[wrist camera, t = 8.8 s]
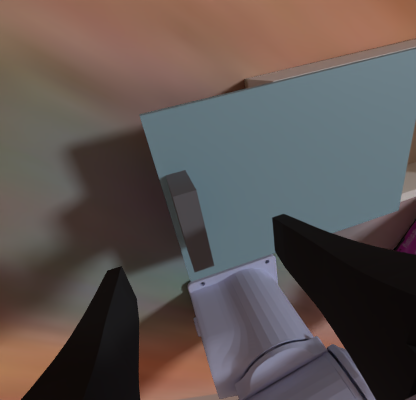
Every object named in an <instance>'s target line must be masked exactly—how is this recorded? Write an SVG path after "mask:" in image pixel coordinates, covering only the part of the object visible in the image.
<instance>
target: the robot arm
mask: <svg viewBox="0 0 416 400" xmlns="http://www.w3.org/2000/svg"><path fill="white" fill-rule="evenodd" d="M272 223H273V235H274V246H275V252H276V253H277V255H278V257H279V258H280V260H281V262H282V263H283V265H284V266H285V268H286V269H287V270H288V272H289V273H290V274H291V275H292V277H293V278H294V279H295V280H296V281H297V283H298V284H299V285H300V286H301V287H302V289H303V290H304V291H305V292H306V294H307V295H308V296H309V297H310V298H311V300H312V301H313V302H314V303H315V304H316V306H317V307H318V308H319V310H320V311H321V312H322V314H323V315H324V317H325V318H326V320H327V321H328V323H329V324H330V326H331V327H332V329H333V330H334V332H335V333H336V335H337V336H338V338H339V340H340V341H341V343H342V344H343V346H344V347H345V349H346V350H345V349H343V348H340V347H337V346H336V345H334V344H332V345H330V346H329V347H327V349H326V348H325V346H324V345H323V343H322V342H321V340H320V339H319V338H318V336H316V337H314V336H313V335H312V334H311V332H310V331H309V329H308V328H307V326H306V325H305V323H304V322H303V321H302V319H301V318H300V316H299V315H298V313H297V312H296V310H295V309H294V308H293V306H292V305H291V303H290V302H289V300H288V299H287V297H286V296H285V295H284V293H283V292H282V290H281V289H280V287H279V286H278V280H277V268H276V258H275V256H274V255H272V254H270V255H267V256H264V257H262V258H259V259H256V260H253V261H250V262H247V263H244V264H241V265H238V266H235V267H232V268H230V269H227V270H224V271H221V272H218V273H215V274H212V275H209V276H206V277H203V278H200V279H198V280H195V281H192V282H189V283H188V290H189V293H190V297H191V301H192V304H193V308H194V312H195V316H196V317H194V318H193V319H194V323H195V327H196V330H197V333H198V336H199V337H200V336H201V338H202V342H203V345H204V349H205V353H206V356H207V360H208V363H209V367H210V370H211V373H212V377H213V380H214V383H215V387H216V390H217V393H218V396H219V398H220V399H223V398H227V397H232V396H238V397H239V399H238V400H416V255H415V254H409V253H403V252H398V251H393V250H388V249H384V248H379V247H375V246H371V245H367V244H364V243H360V242H357V241H353V240H350V239H347V238H344V237H341V236H338V235H335V234H332V233H330V232H327V231H325V230H322V229H319V228H317V227H315V226H312V225H310V224H307V223H305V222H303V221H300V220H298V219H296V218H293V217H291V216H288V215H286V214H281V215H278V216H275V217H272ZM266 260H267V261H266ZM202 282H204V283H202ZM138 371H139V315H138V306H137V298H136V296H135V294H134V292H133V290H132V287H131V285H130V283H129V281H128V279H127V277H126V275H125V272H124V270H123V268H122V266H120V267H117V268H114V269H111V270H108V271H107V273H106V274H105V276H104V278H103V280H102V282H101V284H100V286H99V288H98V290H97V292H96V294H95V296H94V297H93V299H92V301H91V303H90V305H89V306H88V308H87V310H86V312H85V314H84V315H83V317H82V319H81V320H80V322H79V323H78V325H77V327H76V328H75V330H74V332H73V333H72V335H71V336H70V338H69V339H68V341H67V342H66V344H65V345H64V347H63V348H62V349H61V351H60V352H59V353H58V355H57V356H56V358H55V359H54V360H53V361H52V363H51V364H50V365H49V367H48V368H47V369H46V370H45V371H44V373H43V374H42V375H41V376H40V378H39V379H38V380H37V381H36V382H35V384H34V385H33V386H32V387H31V389H30V390H29V391H28V392H27V393H26V394H25V395H24V397H23V398H22V399H21V400H140V392H139V372H138Z"/></svg>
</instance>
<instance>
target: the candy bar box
mask: <svg viewBox="0 0 416 400" xmlns="http://www.w3.org/2000/svg"><path fill="white" fill-rule="evenodd" d="M394 251H398V252H403V253H409V254H415V255H416V221H415V222H414V224H413V225H412V227H411V228H410V229H409V231H408V232H407V234H406V235H405V236H404V238H403V239H402V241H401V242H400V244H399V245H398V246H397V248H396V249H395V250H394Z"/></svg>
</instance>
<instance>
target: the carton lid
mask: <svg viewBox="0 0 416 400" xmlns="http://www.w3.org/2000/svg"><path fill="white" fill-rule="evenodd" d="M139 115H140V118H141V122H142V125H143V128H144V131H145V135H146V138H147V141H148V144H149V148H150V151H151V154H152V157H153V161H154V164H155V167H156V170H157V174H158V177H159V180H160V183H161V187H162V190H163V193H164V196H165V200H166V203H167V206H168V209H169V213H170V216H171V219H172V222H173V226H174V229H175V232H176V235H177V239H178V242H179V245H180V248H181V252H182V255H183V258H184V261H185V265H186V268H187V271H188V274H189V278H190V281H191V282H192V281H195V280H198V279H200V278H203V277H206V276H209V275H212V274H215V273H218V272H221V271H224V270H227V269H230V268H232V267H235V266H238V265H241V264H244V263H247V262H250V261H253V260H256V259H259V258H262V257H264V256H267V255H270V254H273V253H276V252H275V246H274V235H273V223H272V217H275V216H278V215H281V214H286V215H288V216H291V217H293V218H296V219H298V220H300V221H303V222H305V223H307V224H310V225H312V226H315V227H317V228H319V229H322V230H325V231H327V232H330V233H334V232H337V231H340V230H343V229H346V228H349V227H352V226H355V225H357V224H360V223H363V222H366V221H369V220H372V219H375V218H378V217H381V216H384V215H387V214H389V213H392V212H395V211H398V210H399V206H400V200H401V195H402V190H403V185H404V179H405V174H406V169H407V163H408V158H409V153H410V148H411V142H412V137H413V132H414V126H415V121H416V47H415V48H411V49H407V50H403V51H399V52H395V53H390V54H386V55H382V56H378V57H374V58H370V59H366V60H362V61H357V62H353V63H349V64H345V65H341V66H337V67H333V68H329V69H325V70H320V71H316V72H312V73H308V74H304V75H300V76H296V77H292V78H287V79H283V80H279V81H275V82H271V83H267V84H263V85H259V86H254V87H250V88H246V89H242V90H238V91H234V92H230V93H226V94H222V95H217V96H213V97H209V98H205V99H201V100H197V101H193V102H189V103H184V104H180V105H176V106H172V107H168V108H164V109H160V110H156V111H151V112H147V113H143V114H139Z"/></svg>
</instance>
